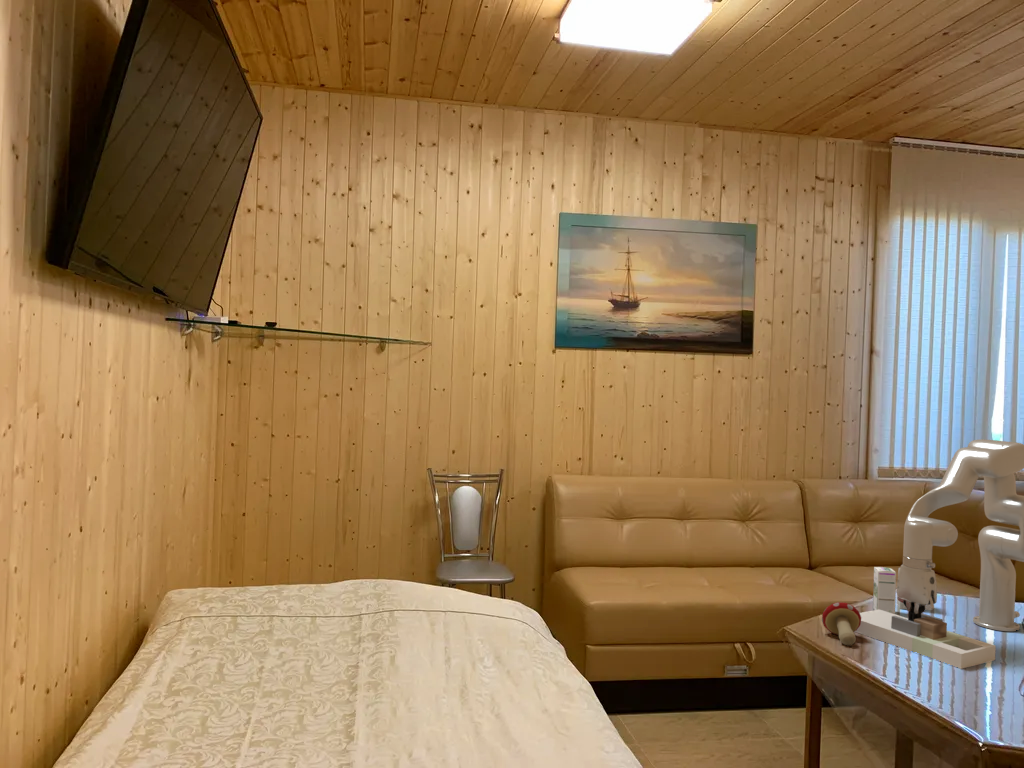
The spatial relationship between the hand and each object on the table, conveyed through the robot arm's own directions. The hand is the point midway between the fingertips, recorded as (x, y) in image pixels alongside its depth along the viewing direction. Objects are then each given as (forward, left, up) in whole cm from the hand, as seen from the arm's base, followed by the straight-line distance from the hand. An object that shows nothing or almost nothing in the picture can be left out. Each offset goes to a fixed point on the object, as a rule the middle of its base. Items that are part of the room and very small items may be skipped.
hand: (914, 625), depth 227 cm
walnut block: (+1, +5, -1) cm, 5 cm away
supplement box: (-33, -23, -5) cm, 41 cm away
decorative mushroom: (+17, -11, -5) cm, 22 cm away
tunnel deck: (0, +1, -5) cm, 5 cm away
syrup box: (-19, -23, -5) cm, 31 cm away
